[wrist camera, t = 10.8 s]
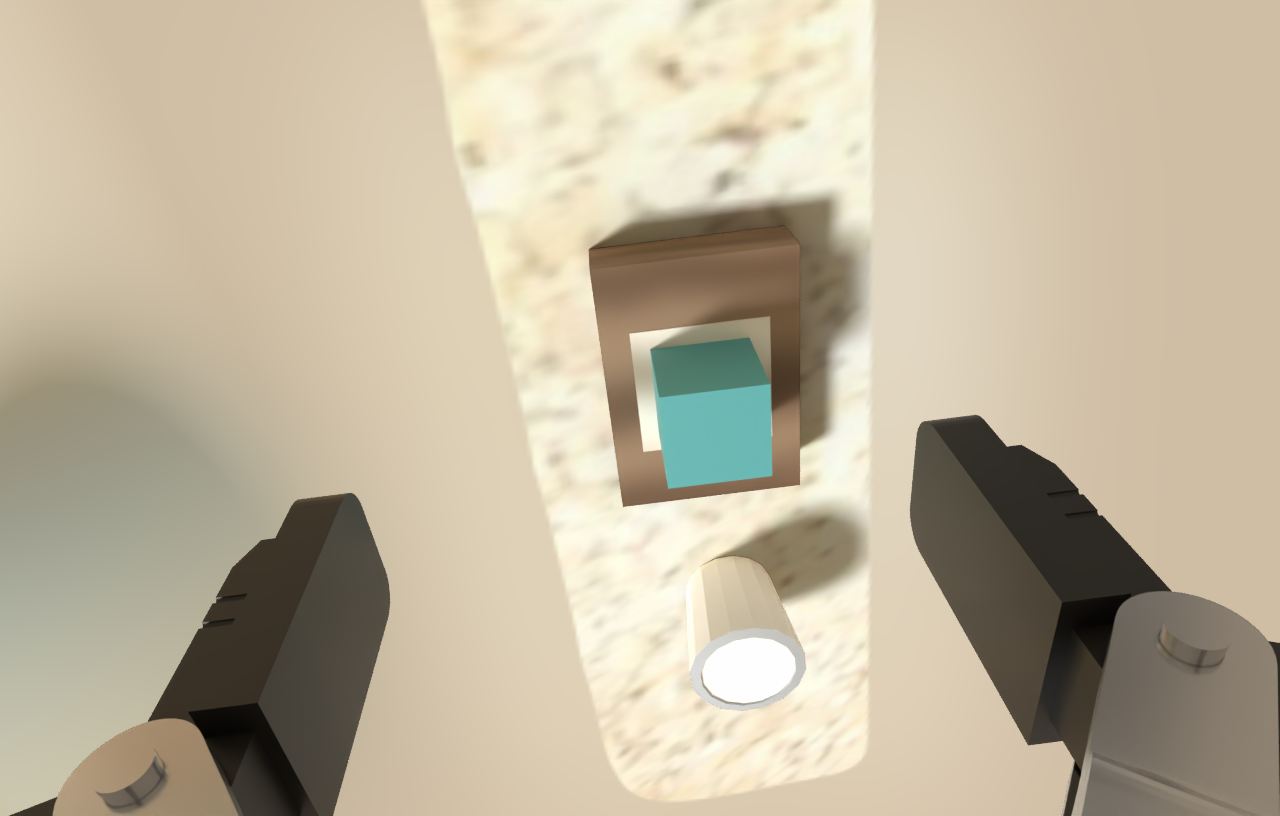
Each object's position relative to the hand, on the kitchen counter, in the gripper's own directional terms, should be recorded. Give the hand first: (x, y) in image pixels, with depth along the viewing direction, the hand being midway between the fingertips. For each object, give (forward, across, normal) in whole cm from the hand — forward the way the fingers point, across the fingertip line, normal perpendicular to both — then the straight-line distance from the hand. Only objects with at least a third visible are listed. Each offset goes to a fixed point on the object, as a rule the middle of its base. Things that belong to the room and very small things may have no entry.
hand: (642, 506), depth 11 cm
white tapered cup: (+29, -5, +30) cm, 42 cm away
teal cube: (+26, -4, +13) cm, 29 cm away
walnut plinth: (+29, -4, +13) cm, 32 cm away
